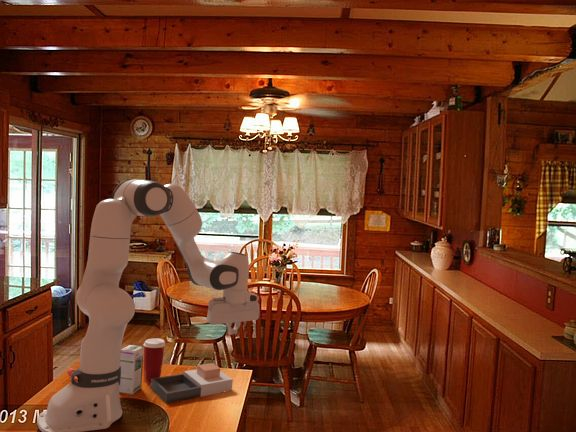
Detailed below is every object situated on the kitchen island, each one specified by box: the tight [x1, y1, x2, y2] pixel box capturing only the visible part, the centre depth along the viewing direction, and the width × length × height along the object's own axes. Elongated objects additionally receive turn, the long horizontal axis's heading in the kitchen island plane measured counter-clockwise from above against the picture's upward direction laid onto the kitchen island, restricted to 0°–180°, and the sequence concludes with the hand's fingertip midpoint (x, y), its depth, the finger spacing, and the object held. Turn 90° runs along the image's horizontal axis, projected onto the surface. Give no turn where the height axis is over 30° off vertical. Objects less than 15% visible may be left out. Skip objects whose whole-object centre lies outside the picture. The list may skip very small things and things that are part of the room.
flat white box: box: [183, 368, 234, 398], centre depth 166 cm, size 12×14×4 cm
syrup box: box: [119, 344, 144, 395], centre depth 157 cm, size 6×6×14 cm
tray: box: [150, 373, 201, 404], centre depth 158 cm, size 12×14×3 cm
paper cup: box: [142, 337, 166, 383], centre depth 168 cm, size 8×8×14 cm
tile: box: [196, 362, 221, 379], centre depth 165 cm, size 6×6×3 cm
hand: (232, 333), depth 170 cm, fingers closed
